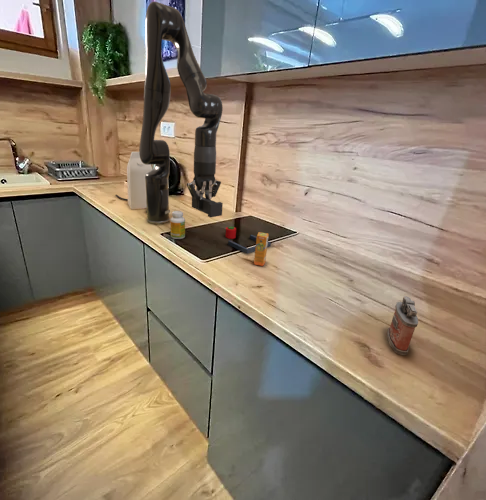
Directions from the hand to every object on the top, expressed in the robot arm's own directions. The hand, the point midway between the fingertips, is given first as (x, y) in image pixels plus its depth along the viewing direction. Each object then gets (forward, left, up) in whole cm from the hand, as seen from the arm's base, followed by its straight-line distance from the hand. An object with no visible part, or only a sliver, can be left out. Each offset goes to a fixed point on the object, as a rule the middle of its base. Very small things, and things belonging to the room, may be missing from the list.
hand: (203, 209), depth 109 cm
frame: (+14, +11, -12) cm, 21 cm away
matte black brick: (+1, 0, -1) cm, 1 cm away
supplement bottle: (-7, -6, -12) cm, 15 cm away
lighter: (+71, 0, -12) cm, 72 cm away
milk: (-55, +2, -12) cm, 57 cm away
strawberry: (+4, +11, -12) cm, 16 cm away
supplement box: (+27, +3, -11) cm, 30 cm away
